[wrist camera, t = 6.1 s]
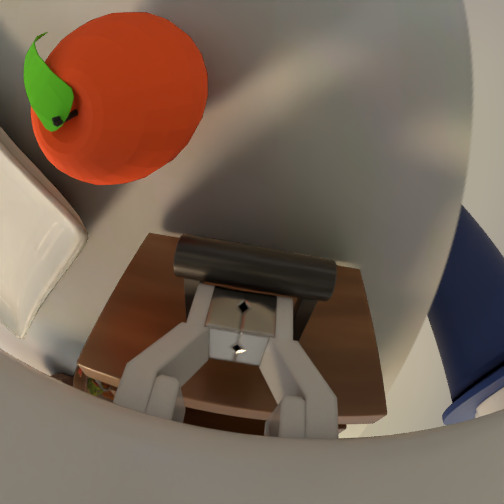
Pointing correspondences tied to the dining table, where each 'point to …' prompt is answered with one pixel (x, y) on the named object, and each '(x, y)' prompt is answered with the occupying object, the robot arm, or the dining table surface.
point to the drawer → (231, 373)
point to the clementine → (116, 97)
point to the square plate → (31, 237)
